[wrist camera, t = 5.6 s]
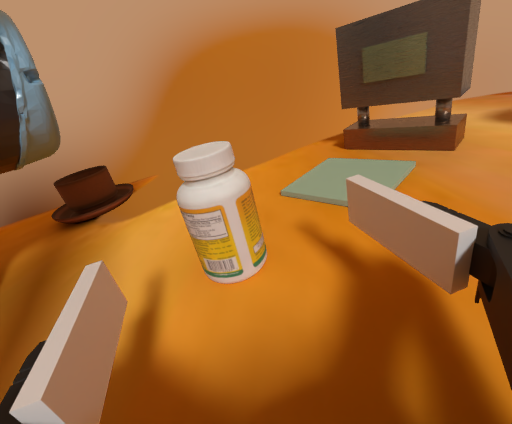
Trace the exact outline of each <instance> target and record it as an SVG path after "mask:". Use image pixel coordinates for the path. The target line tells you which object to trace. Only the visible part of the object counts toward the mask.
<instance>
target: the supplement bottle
mask: <svg viewBox="0 0 512 424" xmlns="http://www.w3.org/2000/svg"><path fill="white" fill-rule="evenodd" d="M234 160H235V157H234V154H233V151H232V147H231V144H230V143H229V142H226V141H218V142H211V143H206V144H202V145H199V146H195V147H192V148H189V149H187V150H184V151H182V152H180V153H178V154H177V155H175V156H174V157H173V162H174V165H175V168H176V171H177V175H178V176H179V177H180V179H182V180H184V181H185V182H184V183H183V184H182V185H181V186H180V188H179V190H178V192H177V202H178V205H179V208H180V211H181V213H182V216H183V218H184V221H185V223H186V226H187V229H188V231H189V233H190V236H191V239H192V241H193V244H194V246H195V249H196V251H197V254H198V257H199V259H200V262H201V264H202V267H203V269H204V272H205V274H206V275H207V276H208V277H209V278H210V279H211V280H213V281H215V282H218V283H225V284H229V283H236V282H240V281H243V280H245V279H248V278H250V277H251V276H253V275H254V274H256V273H257V272H258V271H259V270H260V269H261V268H262V266H263V265H264V263H265V261H266V258H267V250H266V245H265V242H264V237H263V233H262V229H261V225H260V221H259V217H258V213H257V209H256V205H255V201H254V196H253V192H252V188H251V184H250V180H249V178H248V176H247V175H246V174H245V173H244V172H243V171H241V170H239V169H236V168H233V167H232V166H233V165H234Z"/></svg>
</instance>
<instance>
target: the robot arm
mask: <svg viewBox="0 0 512 424" xmlns="http://www.w3.org/2000/svg"><path fill="white" fill-rule="evenodd" d="M59 145H60V132H59V127H58V124H57V120H56V117H55V114H54V111H53V108H52V105H51V103H50V100H49V97H48V94H47V92H46V89H45V87H44V84H43V83H42V81H41V80H40V78H39V74H38V71H37V69H36V67H35V64H34V61H33V58H32V56H31V54H30V52H29V50H28V48H27V45H26V43H25V41H24V40H23V37H22V36H21V34H20V32H19V30H18V28H17V27H16V25H15V24H14V22H13V21H12V19H11V18H10V17H9V16H8V15H7V14H6V13H5V12H3V11H1V10H0V174H2V173H5V172H9V171H12V170H18V169H21V168H23V167H24V165H27V164H30V163H33V162H35V161H38V160H41V159H44V158H46V157H49V156H51V155H52V154H54V153H55V152H56V151H57V150H58V148H59ZM346 187H347V200H348V212H349V221H350V222H351V223H352V224H354V225H355V226H357V227H358V228H359V229H361V230H362V231H364V232H365V233H366V234H368V235H369V236H371V237H372V238H373V239H375V240H376V241H377V242H379V243H380V244H382V245H383V246H384V247H386V248H387V249H389V250H390V251H391V252H393V253H394V254H395V255H397V256H398V257H400V258H401V259H402V260H404V261H405V262H407V263H408V264H409V265H411V266H412V267H414V268H415V269H416V270H418V271H419V272H420V273H422V274H423V275H425V276H426V277H427V278H429V279H430V280H432V281H433V282H434V283H436V284H437V285H438V286H440V287H441V288H443V289H444V290H445V291H447V292H448V293H450V294H453V293H455V292H457V291H459V290H462V289H464V288H466V287H467V286H468V281H469V275H472V276H473V277H475V278H477V279H478V280H479V281H478V286H477V291H476V296H475V303H479V299H480V298H481V299H482V302H483V305H484V308H485V311H486V314H487V317H488V320H489V323H490V326H491V329H492V332H493V335H494V338H495V341H496V344H497V347H498V350H499V353H500V356H501V359H502V362H503V365H504V368H505V372H506V375H507V378H508V381H509V384H510V387H511V390H512V224H510V223H504V224H496V225H493V226H490V225H488V224H486V223H483V222H481V221H478V220H476V219H473V218H471V217H469V216H466V215H464V214H461V213H457V212H456V211H454V210H452V209H448V208H447V207H444V206H442V205H439V204H437V203H432V202H427V201H419V200H416V199H414V198H412V197H409V196H407V195H405V194H403V193H400V192H398V191H396V190H393V189H391V188H389V187H386V186H384V185H382V184H379V183H377V182H375V181H372V180H370V179H368V178H365V177H363V176H361V175H355V176H352V177H349V178H346ZM126 306H127V300H126V298H125V297H124V295H123V293H122V292H121V290H120V289H119V287H118V285H117V284H116V282H115V280H114V279H113V277H112V275H111V274H110V272H109V270H108V269H107V267H106V266H105V264H104V262H103V261H99V262H96V263H93V264H90V265H87V266H85V268H84V270H83V272H82V274H81V276H80V278H79V280H78V282H77V283H76V285H75V287H74V289H73V291H72V293H71V295H70V297H69V299H68V301H67V303H66V304H65V306H64V308H63V310H62V312H61V314H60V316H59V318H58V320H57V322H56V324H55V325H54V327H53V329H52V331H51V333H50V335H49V337H48V339H47V340H45V341H43V342H40V343H39V344H38V345H37V346H36V348H35V349H34V350H33V351H32V352H31V353H30V354H29V355H28V356H27V358H26V360H25V362H24V363H23V365H22V367H21V369H20V370H19V371H20V373H18V374H17V376H16V378H15V379H14V381H13V385H12V386H10V388H9V390H8V392H7V393H6V395H5V397H4V399H3V400H2V402H1V404H0V424H99V423H100V419H101V414H102V410H103V406H104V401H105V397H106V393H107V388H108V384H109V380H110V375H111V371H112V367H113V362H114V358H115V354H116V349H117V345H118V341H119V336H120V332H121V328H122V323H123V319H124V314H125V310H126Z"/></svg>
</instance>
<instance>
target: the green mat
mask: <svg viewBox="0 0 512 424" xmlns="http://www.w3.org/2000/svg"><path fill="white" fill-rule="evenodd" d="M415 166H416V161H396V160H370V159H344V158H328V159H327V160H325V161H324V162H322V163H321V164H319V165H318V166H316V167H315V168H313V169H312V170H310V171H309V172H308V173H306V174H305V175H303V176H302V177H300V178H299V179H297V180H296V181H294V182H293V183H291V184H290V185H288V186H287V187H285V188H284V189H282V190H281V195H283V196H289V197H294V198H300V199H306V200H312V201H318V202H324V203H330V204H336V205H342V206H348V200H347V187H346V178H349V177H352V176H355V175H361V176H363V177H365V178H368V179H370V180H372V181H375V182H377V183H379V184H382V185H384V186H386V187H389V188H391V189H393V190H395V188H396V187H397V186H398V185H399V184H400V183H401V182H402V181H403V180H404V178H405V177H406V176H407V175H408V174H409V173H410V172H411V171H412V170H413V169H414V167H415Z"/></svg>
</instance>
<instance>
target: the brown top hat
mask: <svg viewBox="0 0 512 424" xmlns="http://www.w3.org/2000/svg"><path fill="white" fill-rule="evenodd" d="M54 186H55V188H56V189H57V190H58V192H59V194H60V195H61V197H62V198H63V200H64V201H65V203H66V204H64V205H63V206H61V207H60V208H58V209H57V210H56V211H55V212H54V213H53V214H52V218H53V219H54V220H55V221H58V222H62V223H74V222H80V221H85V220H88V219H92V218H95V217H98V216H100V215H103V214H105V213H107V212H109V211H111V210H113V209H115V208H116V207H118V206H120V205H121V204H123V203H124V202H125V201H127V200H128V199H129V198H130V196H131V195H132V192H133V190H134V189H133V185H131V184H118V185H115V184H114V182H113V180H112V178H111V176H110V174H109V172H108V170H107V168H106V166H97V167H92V168H88V169H85V170H82V171H79V172H76V173H73V174H70V175H68V176H66V177H64V178H61V179H59V180H57V181H56V182H55V183H54Z"/></svg>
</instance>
